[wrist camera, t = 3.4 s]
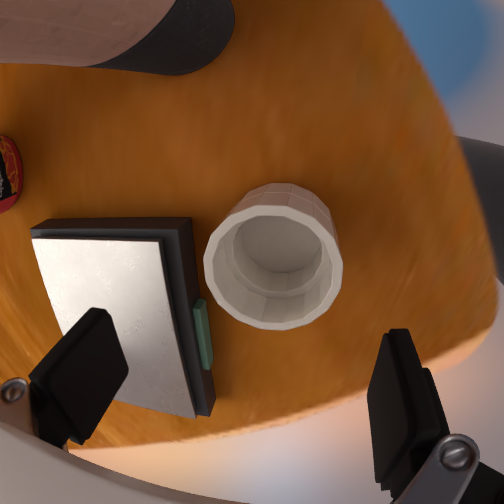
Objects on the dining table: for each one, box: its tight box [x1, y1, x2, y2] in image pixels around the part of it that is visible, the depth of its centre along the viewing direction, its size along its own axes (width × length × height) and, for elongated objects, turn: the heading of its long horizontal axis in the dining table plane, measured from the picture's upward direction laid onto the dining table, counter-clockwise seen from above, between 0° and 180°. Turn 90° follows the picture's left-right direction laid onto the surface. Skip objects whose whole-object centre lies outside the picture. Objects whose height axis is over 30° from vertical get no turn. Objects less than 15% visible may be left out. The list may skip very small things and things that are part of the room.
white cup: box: [203, 183, 343, 330], centre depth 18 cm, size 7×7×6 cm
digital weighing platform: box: [32, 236, 198, 419], centre depth 23 cm, size 12×17×1 cm
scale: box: [30, 217, 216, 417], centre depth 25 cm, size 15×18×2 cm
